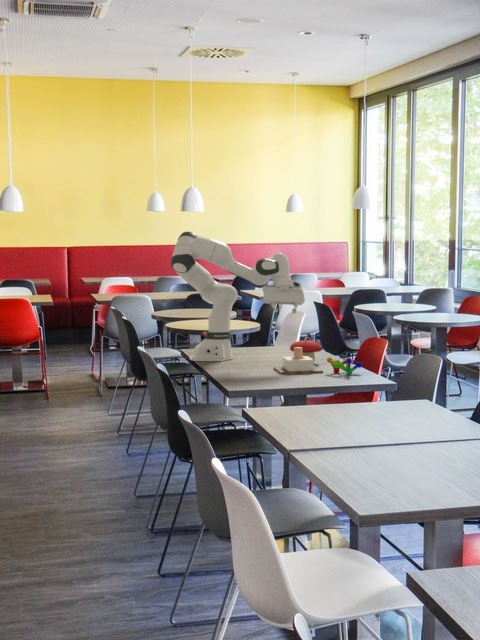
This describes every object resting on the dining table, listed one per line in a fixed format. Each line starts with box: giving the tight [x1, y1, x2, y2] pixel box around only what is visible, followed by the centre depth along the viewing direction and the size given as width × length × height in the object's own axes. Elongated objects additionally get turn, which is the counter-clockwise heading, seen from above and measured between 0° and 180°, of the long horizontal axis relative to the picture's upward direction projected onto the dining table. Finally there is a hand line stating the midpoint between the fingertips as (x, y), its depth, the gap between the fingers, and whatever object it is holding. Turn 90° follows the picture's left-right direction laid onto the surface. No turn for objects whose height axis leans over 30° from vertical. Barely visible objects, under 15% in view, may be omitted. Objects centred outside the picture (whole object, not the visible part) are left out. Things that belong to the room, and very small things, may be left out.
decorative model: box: [326, 356, 363, 376], centre depth 389 cm, size 13×9×15 cm
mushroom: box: [289, 332, 323, 362], centre depth 421 cm, size 16×16×15 cm
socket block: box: [282, 356, 315, 371], centre depth 399 cm, size 12×12×5 cm
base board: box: [273, 365, 324, 375], centre depth 399 cm, size 20×16×1 cm
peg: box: [293, 347, 302, 359], centre depth 398 cm, size 4×4×10 cm
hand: (285, 312), depth 407 cm, fingers open, 8 cm apart
